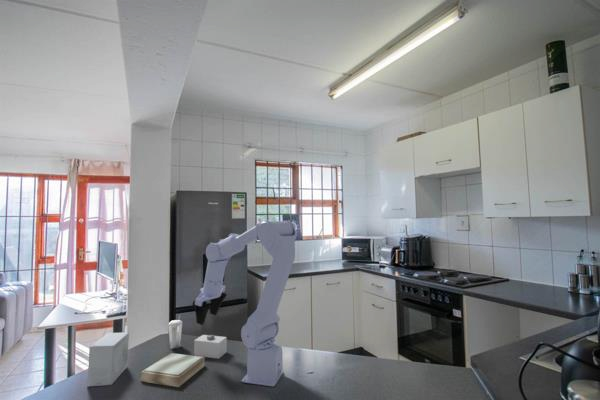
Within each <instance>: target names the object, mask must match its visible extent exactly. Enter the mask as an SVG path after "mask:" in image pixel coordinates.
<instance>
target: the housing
mask: <svg viewBox="0 0 600 400" xmlns="http://www.w3.org/2000/svg"><path fill="white" fill-rule="evenodd" d="M227 339H228V338H227V336H219V335H214V334H202V335H200V336H198V337H196V339H194V341H193V342H194V343H193V356H199V357H205V358H210V359H211V358H212V359H218V360H219V359H221V357H223V356H224V355H225V354H227V347H228V345H227V342H228V341H227Z"/></svg>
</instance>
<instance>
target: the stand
mask: <svg viewBox="0 0 600 400" xmlns="http://www.w3.org/2000/svg"><path fill="white" fill-rule="evenodd" d="M205 359H206V357H201V356H194V355H189V354H181V353H173V352H172V353H169V354H168V355H166V356H164V357H162V358H161V359H159V360H158V361H156V362H154V363H153V364H152V365H150V366H148V367H146V368H145V369H144V370H142V371H140V375H141V376H140V382H144V383H150V384H156V385H162V386H168V387H175V388H179V387H181V386H182V385H183V384H184V383H186V382H187V381H188V380H189V379H191V378H192V377H193V376H194V375H195V374H197V373H198V372H200V371H201V370H202V369H204V367H205V363H206V362H205Z"/></svg>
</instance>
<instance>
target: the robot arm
mask: <svg viewBox="0 0 600 400" xmlns="http://www.w3.org/2000/svg"><path fill="white" fill-rule="evenodd" d="M297 236H298V232H297V230H296V228H295V226H294V223H292V222H291V221H290V220H288V219H287V220H263V221H261V222H257V223H256V224H255V225H254V226H252V227H251V228H249V229H247V230H246V231H244V232H243V233H241V234H239V233H230V234H228V237H226V238H220V239H219V241H218V242H210V243H209V244H208V245H207V246H206V248H205V256H206V259H207V265H206V271H205V276H204V282H203V287H201V288H200V289H199V292H200V293H199V294H198V296H197V297H196V298H195V300H193V301H192V306H193V308H194V311H195V318H196V319H195V320H196V324H199V325H201V326H202V325H204V323H205V321H206V318H207V315H208V313H210V315H211V314H212V315H213V316H216V315H217V314H218V312H219V309H220V307H221V305H222V303H223V301H224V300H225V299H226V298H227V293H225V291H226V285H223V283H224V282H223V281H224V276H225V271H226V266H227V265H228V262H229V260H230V259H231V258H232V256H234V255H237V254H239V253H241V252H243V251H244V250H245V248H246V245H249V244H251V243H254V242H256V241H259V242H260V243H261V245H262V247H264V249H265V250H266V251H267V253H268V254H269V256H271V257H272V261H271V264H270V267H269V270H268V274H267V277H266V280H265V282H264V285H263V287H262V288H263V289H262V292H261V296H260V298H259V300H258V304H257V307H256V310H254V311H253V312H252V313H251V314H250V315H249V317H248V318H247V321H246V323H245V324H244V325H242V327H241V330H240V336H241V340H242V342H243V344H244V345H245V347H246V349H247V353H246V355H247V357H246V358H247V359H246V360H247V362H246V363H247V366H246V368H247V371H246V372H247V373H246V375H244V376H243V378H242V379H241V381H240V382H242V383H244V384H245V383H246V384H253V385H259V386H260V385H261V386H265V387H267V386H268V387H275V386H276V384H277V383H278V382H279V380H280V378H282V377H281V376H282V375H283V374H284V370H283V368H284V366H283V348H282V346H281V345H277V344H275V343H274V342H275V341H276V340H275V339H276V337H277V336H278V335H279V331H280V328H279V327H280V326H279V323H280V320H281V317H280V316H279V315H278V313H277V312H278V309H279V306H280V303H281V300H282V298H283V294H284V292H285V291H284V290H285V288H286V286H287V282H288V280H289V277H290V274H291V271H292V267H293V264H294V262H295V257H296V248H295V247H296V246H295V245H296V244H295V243H296V239H297ZM207 301H210V304H208V303H207Z"/></svg>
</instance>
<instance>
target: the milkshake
mask: <svg viewBox="0 0 600 400" xmlns="http://www.w3.org/2000/svg"><path fill="white" fill-rule="evenodd" d="M178 315H179V316H178V319H174V320H171V321H170V322H169V323H168V335H169V337H168V338H169V348H170V349H171V350H177V349H179V348H180V347H181V342H182V341H181V339H182V332H183V331H182V329H183V321H182V320H180V319H181V314H178Z"/></svg>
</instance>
